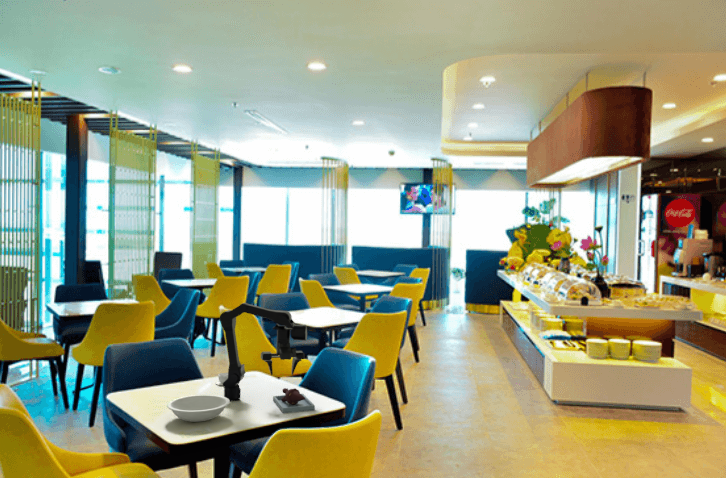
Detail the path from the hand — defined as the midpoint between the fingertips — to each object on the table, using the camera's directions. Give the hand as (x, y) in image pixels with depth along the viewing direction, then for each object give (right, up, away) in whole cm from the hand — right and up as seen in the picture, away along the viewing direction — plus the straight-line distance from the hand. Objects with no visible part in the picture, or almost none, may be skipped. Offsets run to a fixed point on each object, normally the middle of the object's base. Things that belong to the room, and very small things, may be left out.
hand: (282, 374), depth 253 cm
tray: (+6, -12, -7) cm, 15 cm away
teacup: (-32, -12, +29) cm, 45 cm away
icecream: (+6, -11, -7) cm, 14 cm away
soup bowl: (-29, -11, -27) cm, 41 cm away
